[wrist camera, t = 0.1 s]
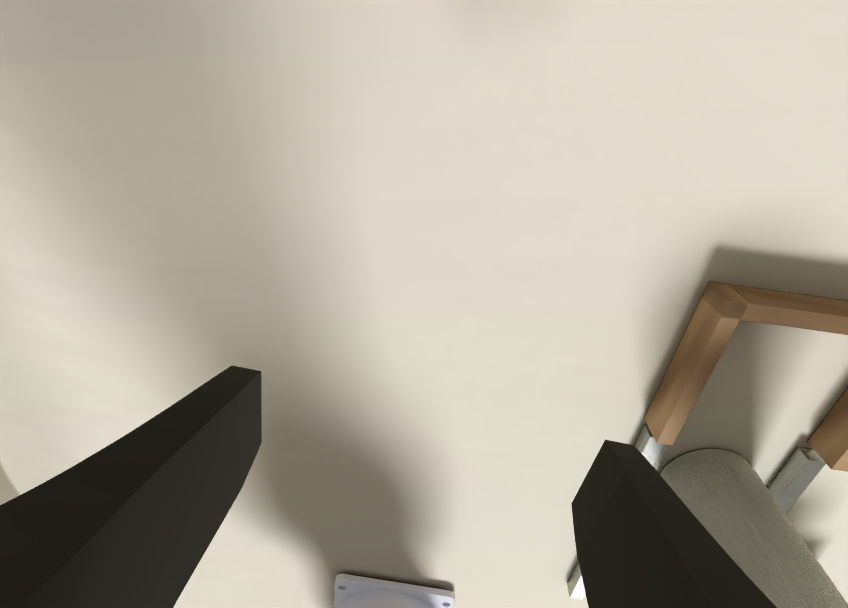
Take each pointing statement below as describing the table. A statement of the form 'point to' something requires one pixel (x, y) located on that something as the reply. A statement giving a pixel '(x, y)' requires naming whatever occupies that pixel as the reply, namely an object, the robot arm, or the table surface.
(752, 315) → the frame
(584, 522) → the robot arm
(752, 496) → the planter
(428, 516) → the table surface
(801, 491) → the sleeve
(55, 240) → the table surface
